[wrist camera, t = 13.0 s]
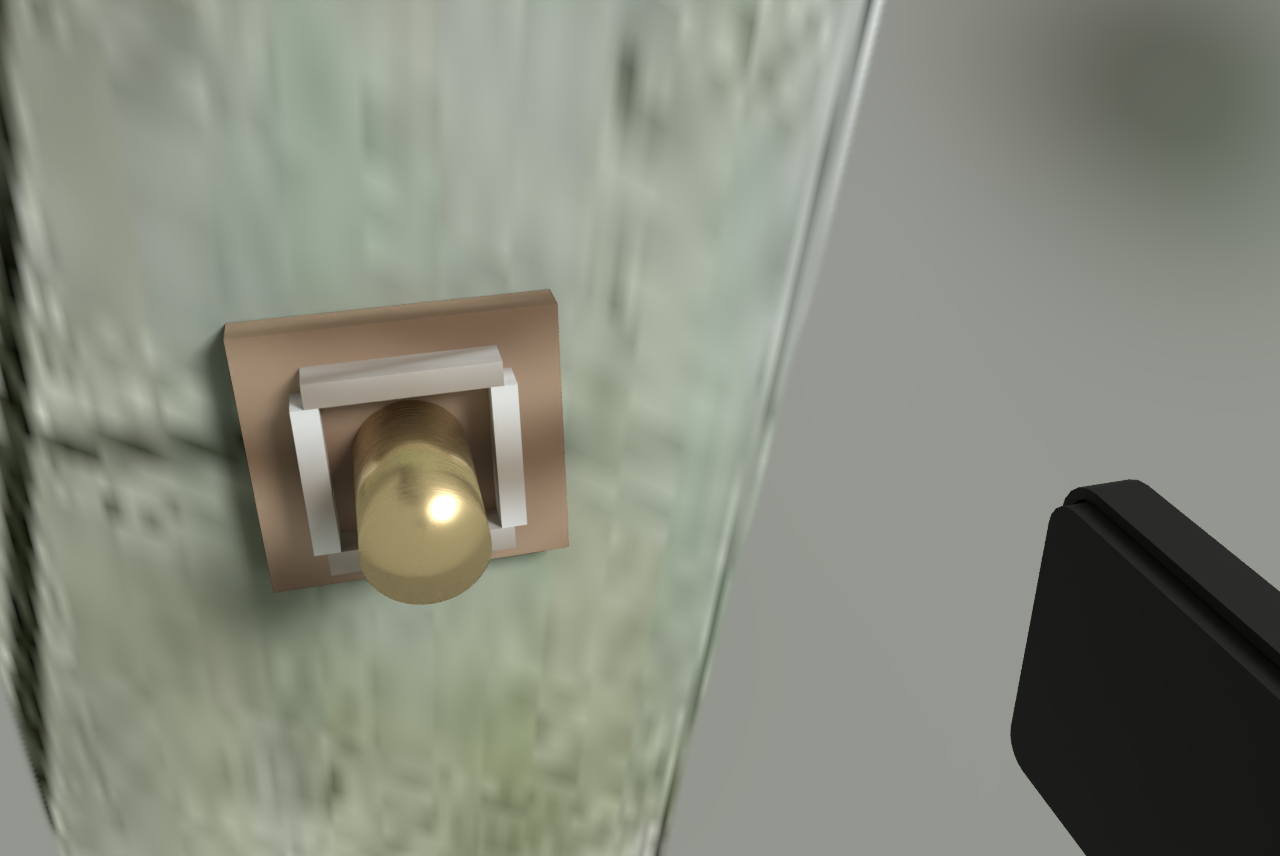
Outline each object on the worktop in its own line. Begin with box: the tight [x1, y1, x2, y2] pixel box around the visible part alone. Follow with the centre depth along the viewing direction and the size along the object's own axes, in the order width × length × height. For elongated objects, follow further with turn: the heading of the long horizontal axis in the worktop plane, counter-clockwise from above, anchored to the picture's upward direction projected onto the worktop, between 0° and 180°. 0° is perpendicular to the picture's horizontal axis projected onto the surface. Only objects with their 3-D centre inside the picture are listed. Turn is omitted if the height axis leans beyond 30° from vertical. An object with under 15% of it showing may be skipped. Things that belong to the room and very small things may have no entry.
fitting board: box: [224, 289, 569, 593], centre depth 45 cm, size 11×12×3 cm
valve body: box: [352, 400, 492, 605], centre depth 42 cm, size 4×4×7 cm
